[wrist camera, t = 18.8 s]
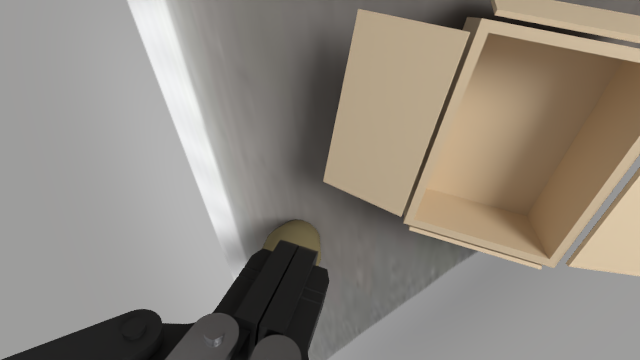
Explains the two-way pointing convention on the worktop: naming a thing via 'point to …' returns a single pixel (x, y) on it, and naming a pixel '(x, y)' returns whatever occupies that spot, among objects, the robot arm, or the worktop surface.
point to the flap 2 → (614, 236)
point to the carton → (531, 132)
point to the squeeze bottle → (295, 236)
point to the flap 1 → (390, 105)
